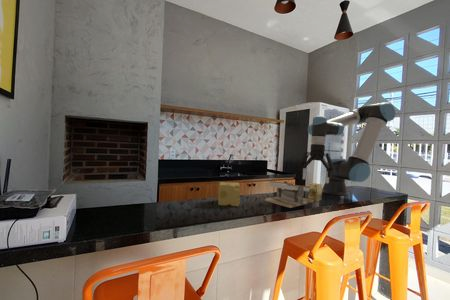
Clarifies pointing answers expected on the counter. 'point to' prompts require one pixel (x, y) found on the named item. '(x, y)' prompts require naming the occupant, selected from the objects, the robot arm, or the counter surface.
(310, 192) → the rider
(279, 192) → the stand
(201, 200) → the counter surface
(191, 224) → the counter surface
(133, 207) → the counter surface
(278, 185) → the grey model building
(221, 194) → the cheese
